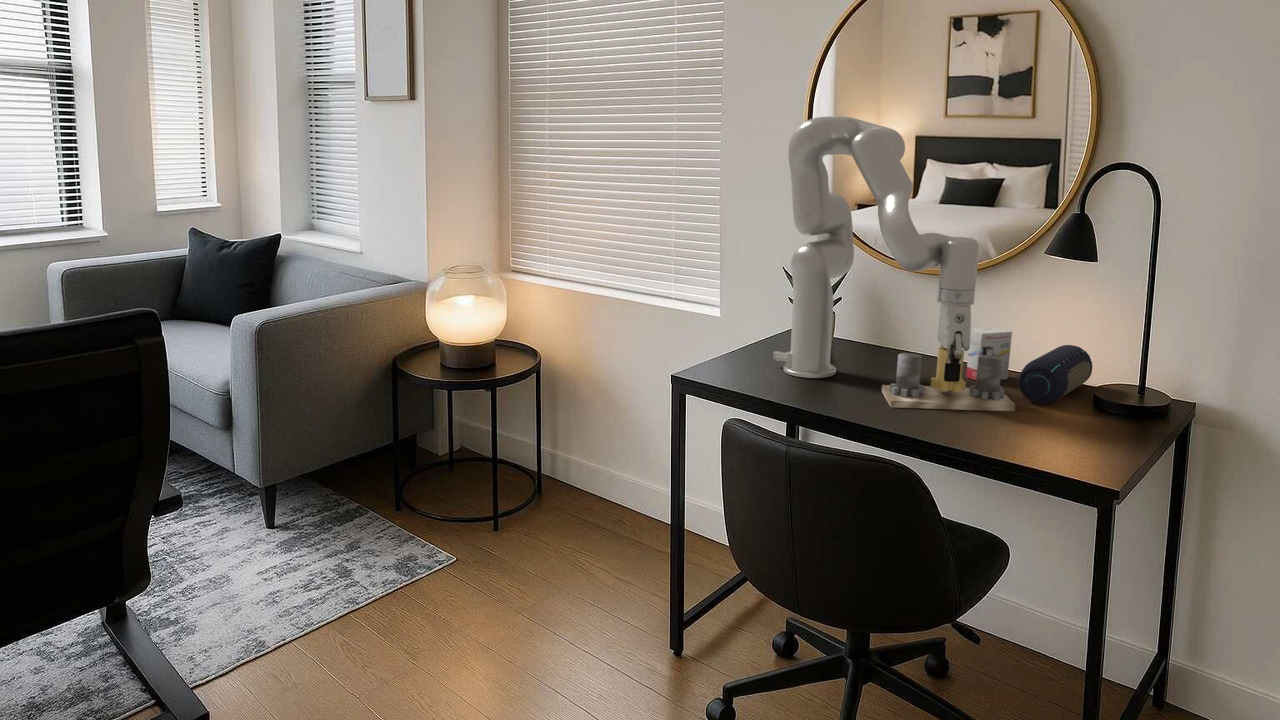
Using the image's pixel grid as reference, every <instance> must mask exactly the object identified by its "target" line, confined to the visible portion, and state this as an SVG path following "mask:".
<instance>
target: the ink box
mask: <svg viewBox="0 0 1280 720" xmlns="http://www.w3.org/2000/svg"><path fill="white" fill-rule="evenodd" d="M1012 337H1013V331H1011V330H1008V329H1005V328H1002V327H984V328H983V327H982V328H972V329H970V347H969V350H967V352H968V353H967V364H966V371H965V372H966V373H965V377H966V378H968V379H971V380H973V381H976V377H977V367H978V357H979V356H982V355H991V356H997V357H1001V358H1002V359H1003V363H1002V372H1001V380H1007V379H1008V376H1009V366H1010V356H1011V348H1012V347H1011V346H1012Z"/></svg>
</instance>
